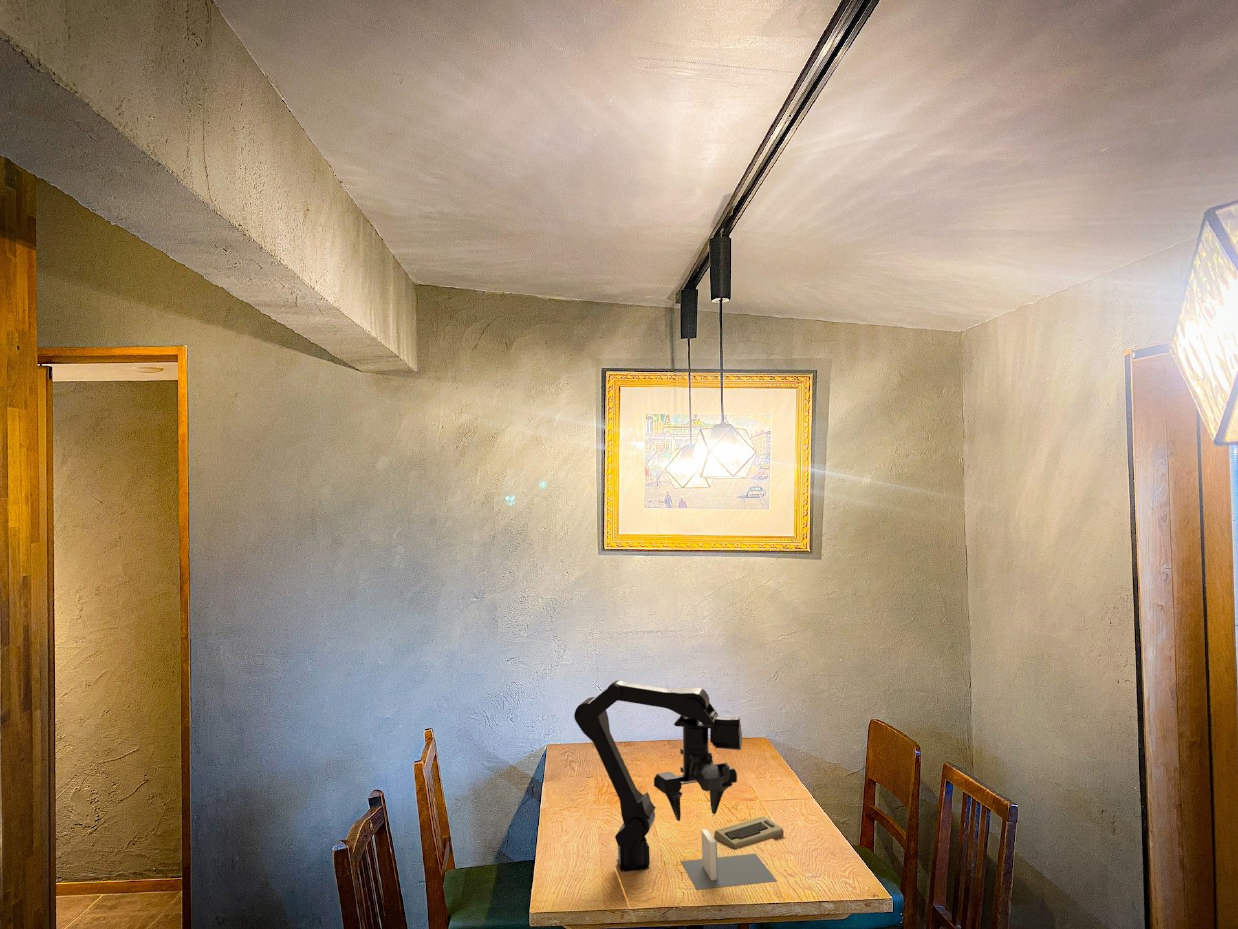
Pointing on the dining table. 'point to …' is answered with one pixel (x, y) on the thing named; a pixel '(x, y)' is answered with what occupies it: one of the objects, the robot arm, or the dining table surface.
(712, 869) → the tile
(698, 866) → the mat
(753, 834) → the computer
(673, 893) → the dining table surface
